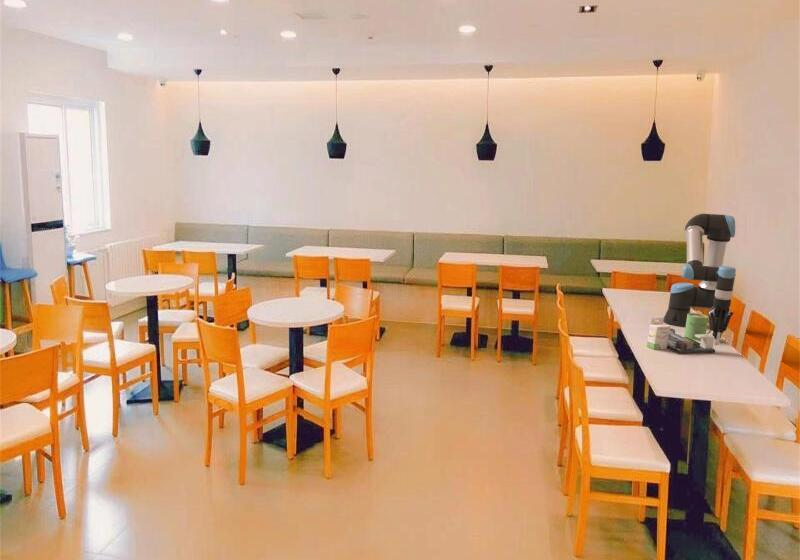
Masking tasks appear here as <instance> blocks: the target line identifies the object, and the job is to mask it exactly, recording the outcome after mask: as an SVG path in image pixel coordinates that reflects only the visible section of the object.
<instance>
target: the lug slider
mask: <svg viewBox="0 0 800 560" xmlns="http://www.w3.org/2000/svg"><path fill="white" fill-rule="evenodd" d="M695 336H696V337H698V338H701V340H700V342H699V343H700V347H703V348H705V349H707V348H713V347H714V344H713V342H714V336H713V334H710V333H709V334H707V333H706V334H697V335H695Z"/></svg>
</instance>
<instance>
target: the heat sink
mask: <svg viewBox="0 0 800 560" xmlns="http://www.w3.org/2000/svg"><path fill="white" fill-rule="evenodd" d="M668 343H670V344H672V345H674V346H684V344H685V342H683V341H681V340H679V339H677V338H675V337H668Z"/></svg>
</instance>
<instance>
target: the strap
mask: <svg viewBox="0 0 800 560" xmlns="http://www.w3.org/2000/svg"><path fill="white" fill-rule="evenodd" d="M669 335H671V336H673V337H675V338H677V339H679V340H681V341H683V342H685V343H688V344H694V342H693V341H690V340H688V339H686V338H684V337H685V336H682V335H679V334H677V333H676V332H675V333H673V332H671V331H669Z"/></svg>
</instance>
